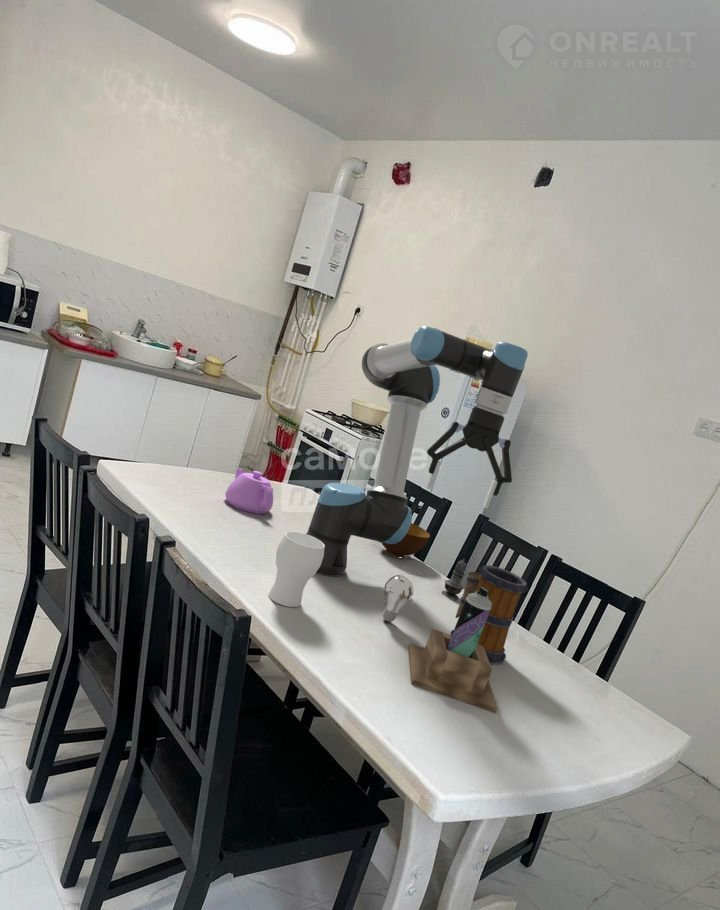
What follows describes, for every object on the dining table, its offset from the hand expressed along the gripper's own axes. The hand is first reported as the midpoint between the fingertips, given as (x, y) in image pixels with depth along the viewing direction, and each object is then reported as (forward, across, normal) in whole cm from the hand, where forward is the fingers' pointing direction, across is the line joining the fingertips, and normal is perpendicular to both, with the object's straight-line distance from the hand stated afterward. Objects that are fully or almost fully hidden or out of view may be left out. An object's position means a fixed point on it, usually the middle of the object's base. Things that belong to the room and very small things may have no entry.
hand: (457, 497), depth 160 cm
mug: (+35, +17, +7) cm, 39 cm away
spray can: (+34, +9, -17) cm, 39 cm away
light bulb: (+35, -5, +3) cm, 35 cm away
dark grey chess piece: (+35, +15, +41) cm, 56 cm away
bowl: (+35, -2, +65) cm, 74 cm away
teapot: (+35, -53, +62) cm, 89 cm away
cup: (+35, -30, -5) cm, 46 cm away
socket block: (+35, +9, -17) cm, 40 cm away
